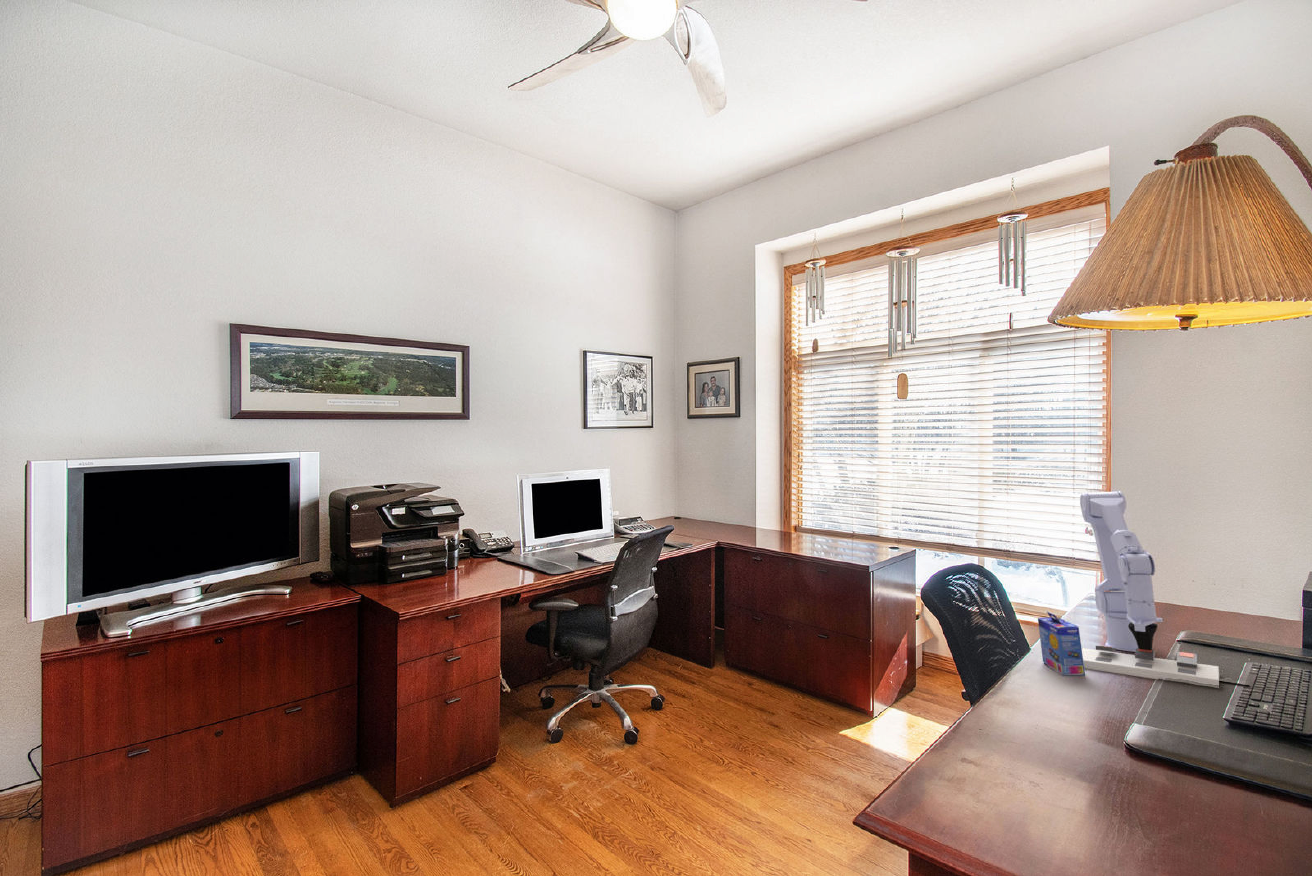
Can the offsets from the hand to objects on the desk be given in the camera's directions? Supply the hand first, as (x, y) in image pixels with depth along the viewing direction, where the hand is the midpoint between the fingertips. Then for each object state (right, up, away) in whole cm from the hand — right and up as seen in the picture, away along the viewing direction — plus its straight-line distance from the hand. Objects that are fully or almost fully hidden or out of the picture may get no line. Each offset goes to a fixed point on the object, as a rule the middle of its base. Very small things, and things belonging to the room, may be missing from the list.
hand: (1145, 652), depth 150 cm
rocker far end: (-7, -1, +4) cm, 8 cm away
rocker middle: (-2, 0, -2) cm, 2 cm away
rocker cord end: (+4, 0, -7) cm, 8 cm away
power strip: (-1, -3, -5) cm, 6 cm away
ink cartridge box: (-21, -5, +1) cm, 21 cm away
